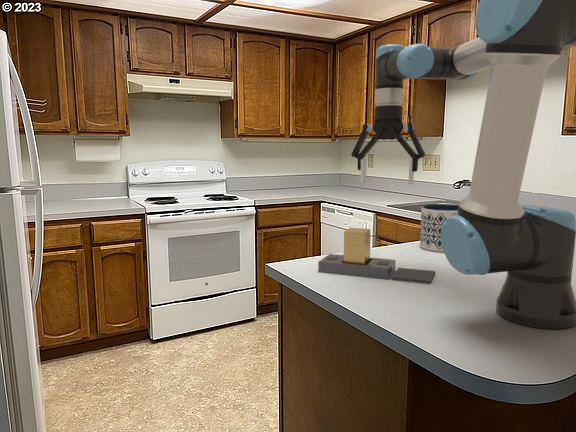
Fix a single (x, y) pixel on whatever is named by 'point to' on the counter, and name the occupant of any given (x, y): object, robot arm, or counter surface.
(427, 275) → the pad
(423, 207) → the planter
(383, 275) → the grey slotted block
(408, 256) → the counter surface
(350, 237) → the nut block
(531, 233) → the robot arm
